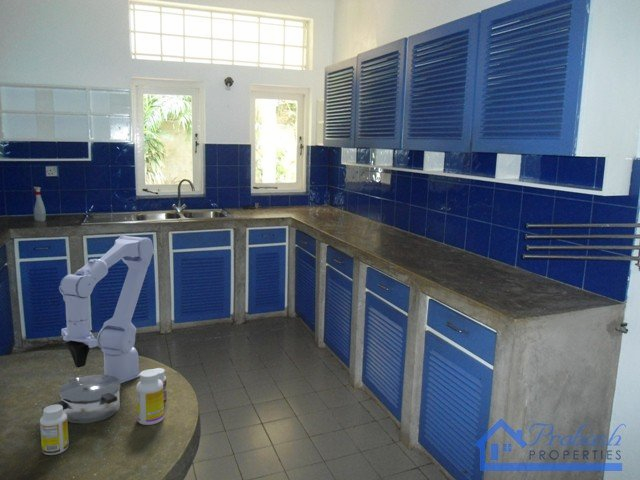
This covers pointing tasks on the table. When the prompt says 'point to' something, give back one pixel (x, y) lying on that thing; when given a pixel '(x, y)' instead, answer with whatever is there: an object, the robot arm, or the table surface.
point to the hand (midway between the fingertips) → (80, 365)
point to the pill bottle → (163, 379)
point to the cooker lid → (91, 389)
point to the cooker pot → (89, 410)
